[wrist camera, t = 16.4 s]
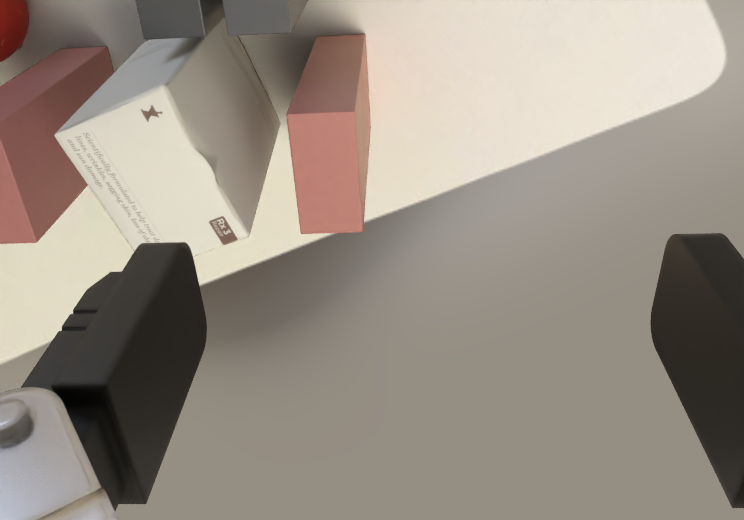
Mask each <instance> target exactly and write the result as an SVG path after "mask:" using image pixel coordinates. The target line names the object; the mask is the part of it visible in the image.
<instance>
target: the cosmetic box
mask: <svg viewBox="0 0 744 520" xmlns="http://www.w3.org/2000/svg"><path fill="white" fill-rule="evenodd" d="M279 127H280V122H279V119H278V117H277V115H276V113H275V111H274V108H273V106H272V104H271V102H270V100H269V98H268V96H267V94H266V92H265V90H264V88H263V86H262V84H261V82H260V80H259V78H258V76H257V74H256V72H255V70H254V68H253V66H252V63H251V61H250V59H249V57H248V55H247V53H246V51H245V49H244V48H243V46H242V44H241V42H240V40H239V38H238V37H237V35H236V36H228V34H227V27H226V21H225V17H224V18H223V19H222V20H221V21H220V22H219V23H218V24H217V25H216V27H215V28H214V29H213V30H212V31H211V32H210V33H209V34H208V35H207V36H206V37H191V38H170V39H152V40H149V41H147V42H145V43H143V44H142V45H141V46H140V47H139V48H138V49H137V50H136V51H135V52H134V53H133V54H132V55H131V56H130V57H129V58H128V59H127V60H126V61H125V62H124V63H123V64H122V65H121V66H120V67H119V68H118V69H117V70H116V71H115V73H114V74H113V75H112V76H111V77H110V78H109V79H108V80H107V81H106V82H105V83H104V84H103V85H102V86H101V87H100V88H99V89H98V90H97V91H96V92H95V93H94V94H93V95H92V96H91V97H90V98H89V99H88V100H87V101H86V102H85V103H84V104H83V105H82V106H81V107H80V108H79V109H78V110H77V111H76V112H75V113H74V114H73V115H72V117H71V118H70V119H69V120H68V121H67V122H66V123H65V124H64V125H63V126H62V127H61V128H60V129H59V130H58V131H57V132H56V133H55V135H54V136H55V138H56V139H57V141H58V142H59V144H60V145H61V147H62V148H63V150H64V151H65V153H66V154H67V156H68V157H69V158H70V160H71V161H72V163H73V164H74V166H75V167H76V168H77V170H78V171H79V173H80V174H81V176H82V177H83V179H84V180H85V181H86V183H87V184H88V186H89V187H90V189H91V190H92V192H93V193H94V194H95V196H96V197H97V199H98V200H99V202H100V203H101V205H102V206H103V207H104V209H105V210H106V212H107V213H108V215H109V216H110V218H111V219H112V220H113V222H114V223H115V225H116V226H117V228H118V229H119V230H120V232H121V233H122V235H123V236H124V238H125V239H126V240H127V242H128V243H129V245H130V246H131V248H132V249H133V251H134V252H135V250H136V249H137V247H138V246H139V245H140V244H141V243H166V242H185V243H187V244H188V245H189V247H190V249H191V252H192V256H193V257H194V256H196V255H199V254H202V253H205V252H207V251H210V250H213V249H215V248H218V247H221V246H223V245H226V244H229V243H232V242H235V241H238V240H241V239H244V238H247V237H249V235H250V232H251V228H252V224H253V221H254V217H255V214H256V210H257V206H258V202H259V198H260V195H261V191H262V188H263V184H264V181H265V177H266V173H267V170H268V166H269V163H270V159H271V155H272V152H273V148H274V144H275V141H276V137H277V134H278V130H279Z"/></svg>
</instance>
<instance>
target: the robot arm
mask: <svg viewBox="0 0 744 520" xmlns="http://www.w3.org/2000/svg"><path fill="white" fill-rule="evenodd" d="M206 332H207V326H206V316H205V310H204V306H203V301H202V297H201V292H200V287H199V283H198V278H197V274H196V269H195V265H194V260H193V256H192V252H191V249H190V247H189V245H188V244H187V243H185V242H166V243H141V244H140V245H139V246H138V247H137V249H136V250H135V252H134V253H133V255H132V257H131V258H130V260H129V261H128V263H127V265H126V266H125V268H124V269H123V271H122V272H110V273H109V274H108V275H106V276H105V277H104V278H102V279H101V280H100V281H98V282H97V283H95V284H94V285H93V286H91V287H90V288H89V289H87V290H86V292H85V293H84V295H83V296H82V298H81V299H80V301H79V302H78V304H77V305H76V307H75V308H74V310H73V314H70V316H69V317H68V318H67V320H66V321H65V323H64V324H63V326H62V331H59V332H58V333H57V335H56V336H55V338H54V339H53V341H52V342H51V344H50V345H49V347H48V348H47V350H46V351H45V352H44V354H43V356H42V357H41V358H40V360H39V361H38V363H37V364H36V366H35V367H34V369H33V370H32V372H31V373H30V375H29V376H28V378H27V379H26V381H25V382H24V384H23V385H22V386H21V388H17V389H13V390H9V391H5V392H2V393H0V520H118V518H117V515H116V513H115V511H116V508H117V506H118V504H146V503H147V500H148V497H149V495H150V492H151V490H152V487H153V484H154V482H155V479H156V476H157V474H158V471H159V468H160V466H161V463H162V460H163V458H164V455H165V452H166V450H167V447H168V444H169V442H170V439H171V437H172V434H173V431H174V429H175V425H176V423H177V420H178V418H179V415H180V413H181V410H182V407H183V405H184V402H185V399H186V397H187V394H188V391H189V388H190V386H191V383H192V381H193V378H194V375H195V373H196V370H197V367H198V365H199V362H200V359H201V357H202V354H203V351H204V348H205V343H206ZM651 333H652V339H653V343H654V346H655V348H656V351H657V353H658V355H659V357H660V359H661V361H662V363H663V365H664V367H665V369H666V371H667V374H668V376H669V378H670V379H671V381H672V384H673V386H674V388H675V390H676V392H677V394H678V396H679V398H680V400H681V402H682V405H683V406H684V409H685V411H686V413H687V415H688V417H689V419H690V421H691V423H692V425H693V427H694V429H695V431H696V433H697V436H698V438H699V440H700V442H701V444H702V446H703V448H704V450H705V452H706V454H707V456H708V458H709V460H710V462H711V465H712V466H713V468H714V471H715V473H716V475H717V477H718V479H719V481H720V483H721V485H722V487H723V489H724V491H725V494H726V496H727V498H728V500H729V502H730V504H731V506H732V507H733V508H744V259H743V257H742V256H741V255H740V253H739V252H738V251H737V250H736V248H735V247H734V246H733V245H732V243H731V242H730V241H729V239H728V238H727V237H726V236H725V235H723V234H721V233H717V234H716V233H713V234H674V235H672V236H671V237H670V238H669V240H668V241H667V244H666V248H665V252H664V256H663V261H662V265H661V270H660V274H659V279H658V284H657V288H656V293H655V297H654V302H653V306H652V312H651Z"/></svg>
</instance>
